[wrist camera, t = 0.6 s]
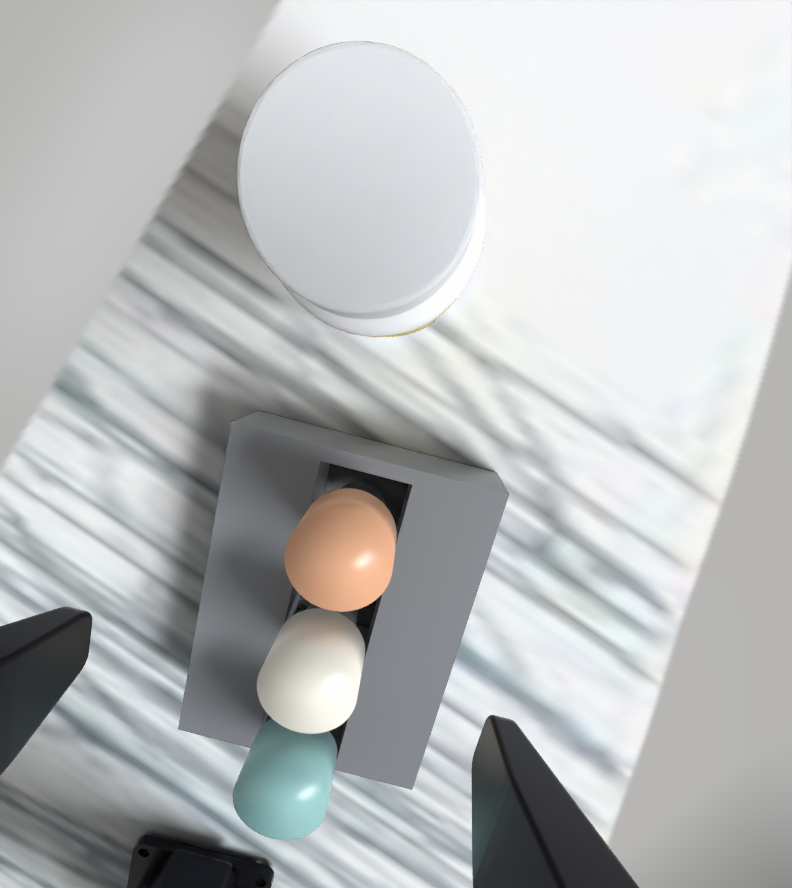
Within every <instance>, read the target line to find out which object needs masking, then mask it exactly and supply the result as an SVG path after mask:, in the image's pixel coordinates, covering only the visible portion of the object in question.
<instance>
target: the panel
mask: <svg viewBox="0 0 792 888" xmlns="http://www.w3.org/2000/svg"><path fill="white" fill-rule="evenodd" d="M330 464H334V465H338V466H342V467H346V468H350V469H353V470H357V471H361V472H365V473H369V474H373V475H377V476H380V477H384V478H388V479H392V480H396V481H400V482H403V483H407V484H408V488H407V492H406V495H405V499H404V503H403V506H402V510H401V514H400V517H399V521H398V525H397V528H396V530H397V540H396V548H395V556H394V564H393V571H392V576H391V579H390V582H389V584H388V586H387V588H386V589H385V591H384V592H383V593H382V594H381V595H380V597H379V598H377V602H376V605H375V609H374V613H373V616H372V620H371V624H370V627H366V626H362V625H358V624H356V627H357V628H358V629H359V631H360V633H361V635H362V637H363V640H364V644H365V658H364V663H363V669H362V674H361V680H360V685H359V691H358V696H357V702H356V705H355V708H354V710H353V712H352V714H351V715H350V717H349V718H348V719H347V720H346V721H345V722H344V723H343V724H341V725H340V726H338V727H337V728H335V729H332V730H330V731H329V732H330V733H331V734H332V736H333V737H334V740H335V742H336V745H337V760H336V765H335V769H334V770H337V771H341V772H345V773H349V774H353V775H357V776H361V777H365V778H368V779H372V780H376V781H380V782H384V783H388V784H392V785H396V786H399V787H403V788H407V789H411V790H412V789H413V786H414V782H415V779H416V776H417V773H418V770H419V767H420V764H421V761H422V758H423V755H424V752H425V749H426V746H427V743H428V740H429V737H430V734H431V731H432V728H433V725H434V722H435V719H436V716H437V712H438V709H439V706H440V703H441V700H442V697H443V694H444V691H445V688H446V685H447V682H448V679H449V676H450V673H451V670H452V667H453V664H454V661H455V658H456V655H457V652H458V649H459V645H460V642H461V639H462V636H463V633H464V630H465V627H466V624H467V621H468V618H469V615H470V612H471V609H472V606H473V603H474V600H475V597H476V594H477V591H478V588H479V585H480V582H481V578H482V575H483V572H484V569H485V566H486V563H487V560H488V557H489V554H490V551H491V548H492V545H493V542H494V539H495V536H496V533H497V530H498V527H499V524H500V521H501V518H502V515H503V511H504V508H505V505H506V502H507V499H508V496H509V493H508V491H507V490H506V488H505V486H504V484H503V482H502V481H501V479H500V477H499V475H498V474H497V473H496V472H492V471H488V470H484V469H481V468H477V467H473V466H469V465H465V464H461V463H458V462H454V461H450V460H446V459H442V458H438V457H434V456H431V455H427V454H423V453H419V452H415V451H411V450H408V449H404V448H400V447H396V446H392V445H388V444H384V443H381V442H377V441H373V440H369V439H365V438H361V437H358V436H354V435H350V434H346V433H342V432H338V431H335V430H331V429H327V428H323V427H319V426H315V425H311V424H308V423H304V422H300V421H296V420H292V419H288V418H285V417H281V416H277V415H273V414H269V413H265V412H261V411H256V412H253V413H251V414H249V415H246V416H244V417H242V418H239V419H237V420H235V421H232V422H231V426H230V432H229V438H228V444H227V449H226V455H225V461H224V467H223V473H222V478H221V484H220V490H219V496H218V501H217V507H216V513H215V519H214V525H213V530H212V536H211V542H210V548H209V554H208V559H207V565H206V571H205V577H204V582H203V588H202V594H201V600H200V606H199V611H198V617H197V623H196V629H195V635H194V640H193V646H192V652H191V658H190V663H189V669H188V675H187V681H186V687H185V692H184V698H183V704H182V710H181V715H180V721H179V727H178V729H179V730H183V731H186V732H190V733H194V734H198V735H202V736H206V737H210V738H214V739H217V740H221V741H225V742H229V743H233V744H237V745H241V746H245V747H248V748H251V746H252V744H253V741H254V739H255V737H256V734H257V732H258V730H259V729H260V728H261V726H262V725H263V724H264V723H266V722H267V721H268V720H270V719H272V718H271V717H270V716H269V715H268V714H267V713H266V711H265V710H264V708H263V707H262V705H261V703H260V701H259V697H258V693H257V679H258V675H259V672H260V670H261V668H262V666H263V664H264V662H265V660H266V658H267V656H268V654H269V652H270V650H271V648H272V646H273V643H274V641H275V639H276V637H277V635H278V633H279V631H280V629H281V627H282V626H283V624H284V623H285V622H286V621H287V620H288V619H289V618H290V617H291V616H293V615H295V614H296V613H298V612H301V611H304V610H300V609H297V607H298V602H299V598H300V594H299V593H298V592H297V591H296V589H295V588H294V587H293V585H292V584H291V582H290V580H289V578H288V575H287V572H286V569H285V562H284V555H285V548H286V545H287V542H288V540H289V537H290V536H291V534H292V533H293V531H294V530H295V528H296V527H297V525H298V524H299V522H300V521H301V519H302V518H303V516H304V515H305V513H306V512H307V510H308V509H309V507H310V506H311V505H312V503H313V502H314V501H315V500H317V499H318V498H319V497H320V496H322V495H323V493H324V489H325V484H326V480H327V476H328V471H329V467H330Z"/></svg>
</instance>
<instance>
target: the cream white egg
mask: <svg viewBox="0 0 792 888" xmlns="http://www.w3.org/2000/svg"><path fill="white" fill-rule="evenodd" d="M358 613H359V609H357V610H353V611H344V612H339V611H331V610H326V609H323V608H320V607H318V606H316V605H313V604H312V603H310V602H309V604H308V607H307V609H306V610H304V611H301V612H298V613H296V614H295V615H293V616H291V617H290V618H289V619H288V620H287V621H286V622H285V623H284V624H283V626H282V627H281V629H280V631H279V633H278V635H277V637H276V639H275V641H274V643H273V646H272V648H271V650H270V652H269V654H268V656H267V658H266V660H265V662H264V664H263V666H262V668H261V670H260V672H259V675H258V679H257V693H258V697H259V701H260V703H261V705H262V707H263V708H264V710H265V711H266V713H267V714H268V715H269V716H270V717H271V718H272V719H273V720H274V721H276V722H277V723H278V724H280V725H282V726H283V727H285V728H287V729H290V730H293V731H296V732H300V733H307V734H316V733H323V732H327V731H330V730H332V729H335V728H337V727H338V726H340V725H341V724H343V723H344V722H345V721H346V720H347V719H348V718H349V717H350V715H351V714H352V712H353V710H354V708H355V705H356V702H357V696H358V691H359V685H360V680H361V674H362V669H363V663H364V658H365V644H364V640H363V637H362V635H361V633H360V631H359V629H358V628H357V627H356V622H357V617H358Z"/></svg>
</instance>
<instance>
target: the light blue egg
mask: <svg viewBox="0 0 792 888" xmlns="http://www.w3.org/2000/svg"><path fill="white" fill-rule="evenodd" d="M336 760H337V745H336V742H335V740H334V737H333V736H332V734H331V733H330V732H329V731H327V732H323V733H316V734H307V733H300V732H296V731H293V730H290V729H287V728H285V727H283V726H282V725H280V724H278V723H277V722H276V721H274V720H273V719H270V720H268V721H267V722H266V723H264V724H263V725H262V726H261V728H260V729H259V730H258V732H257V734H256V737H255V739H254V741H253V744H252V746H251V749H250V751H249V753H248V756H247V758H246V761H245V763H244V765H243V768H242V770H241V772H240V775H239V777H238V780H237V782H236V784H235V787H234V790H233V803H234V807H235V810H236V812H237V814H238V816H239V817H240V819H241V820H242V821H243V822H244V823H245V824H246V825H247V826H248V827H249V828H251V829H252V830H254V831H255V832H257V833H259V834H261V835H263V836H266V837H269V838H273V839H279V840H291V839H297V838H301V837H304V836H306V835H308V834H310V833H312V832H313V831H314V830H316V829H317V828H318V827H319V825H320V824H321V823H322V821H323V819H324V817H325V814H326V809H327V804H328V799H329V794H330V789H331V784H332V779H333V774H334V769H335V765H336Z"/></svg>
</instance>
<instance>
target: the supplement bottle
mask: <svg viewBox="0 0 792 888" xmlns="http://www.w3.org/2000/svg"><path fill="white" fill-rule="evenodd" d="M237 188H238V197H239V204H240V210H241V213H242V216H243V220H244V223H245V226H246V229H247V231H248V234H249V236H250V239H251V241H252V243H253V245H254V246H255V248H256V250H257V252H258V253H259V255H260V257H261V258H262V260H263V261H264V263H265V264H266V265H267V266H268V268H269V269H270V270H271V272H272V273H273V274H274V275H275V276H276V277H277V278H278V279H279V280H280V281H281V282H282V283H283V285H284V286H285V288H286V289H287V290H288V291H289V293H290V294H291V295H292V296H293V297H294V298H295V299H296V301H297V302H298V303H299V304H300V305H302V306H303V307H304V308H305V309H306V310H307V311H308V312H310V313H311V314H312V315H313V316H315V317H316V318H318V319H319V320H321V321H322V322H324V323H326V324H327V325H330V326H332V327H334V328H336V329H338V330H341V331H344V332H347V333H350V334H355V335H361V336H369V337H394V336H403V335H407V334H411V333H414V332H416V331H419V330H421V329H423V328H425V327H426V326H428V325H430V324H431V323H432V322H434V321H435V320H436V319H437V318H438V317H439V316H440V315H441V314H442V313H443V312H445V311H446V310H447V309H448V308H449V307H450V306H451V305H452V304H453V303H454V301H455V300H456V299H457V298H458V296H459V295H460V294H461V293H462V291H463V290H464V289H465V287H466V285H467V284H468V282H469V281H470V279H471V277H472V275H473V273H474V271H475V268H476V266H477V263H478V261H479V258H480V255H481V251H482V248H483V244H484V237H485V230H486V200H485V192H484V187H483V166H482V159H481V152H480V147H479V143H478V139H477V136H476V133H475V130H474V127H473V124H472V121H471V119H470V116H469V114H468V112H467V110H466V108H465V107H464V105H463V103H462V102H461V100H460V99H459V97H458V96H457V94H456V93H455V92H454V90H453V89H452V87H451V86H450V85H449V84H448V83H447V81H446V80H445V79H444V78H443V77H442V76H441V75H440V74H439V73H438V72H436V71H435V70H434V69H433V68H432V67H431V66H430V65H428V64H427V63H425V62H424V61H422V60H421V59H419V58H417V57H416V56H414V55H412V54H410V53H409V52H406V51H404V50H402V49H399V48H397V47H393V46H390V45H386V44H382V43H373V42H369V41H351V42H341V43H336V44H332V45H328V46H324V47H321V48H319V49H316V50H314V51H312V52H310V53H308V54H306V55H305V56H303V57H301V58H300V59H298V60H296V61H295V62H293V63H292V64H290V65H289V66H288V67H287V68H285V69H284V70H283V71H282V72H281V73H280V74H279V75H277V76H276V78H275V79H274V80H273V81H272V82H271V83H270V84H269V85H268V86H267V88H266V89H265V90H264V92H263V93H262V95H261V96H260V98H259V100H258V101H257V103H256V104H255V106H254V108H253V110H252V112H251V114H250V116H249V118H248V121H247V124H246V126H245V129H244V132H243V135H242V139H241V143H240V149H239V156H238V164H237Z"/></svg>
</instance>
